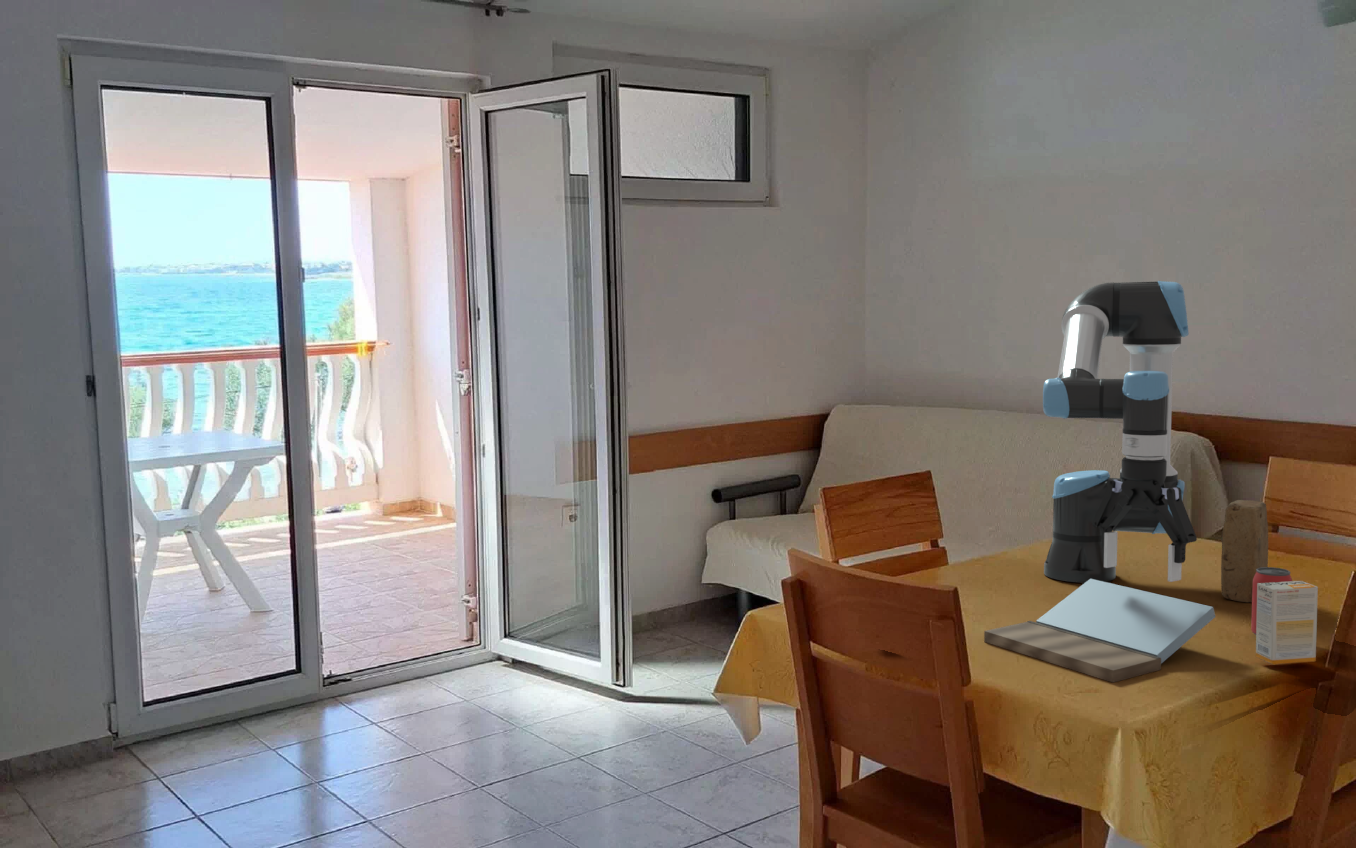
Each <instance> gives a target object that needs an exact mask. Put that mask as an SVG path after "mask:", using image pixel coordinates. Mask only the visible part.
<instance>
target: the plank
mask: <svg viewBox="0 0 1356 848" xmlns="http://www.w3.org/2000/svg"><path fill="white" fill-rule="evenodd" d="M1215 618H1216V614H1215V609H1214V606H1210V605H1205V604H1201V603H1197V602H1194V601H1190V600H1189V601H1188V600H1185V599H1181V598H1176V597H1171V596H1167V595H1162V594H1158V593H1154V592H1150V591H1146V590H1141V589H1137V588H1133V587H1128V586H1125V585H1124V586H1123V585H1120V584H1119V585H1118V584H1115V583H1111V582H1108V581H1106V582H1103V581H1099V580H1094V579H1089V580H1088V581H1087V582H1085V583H1082V585H1080V586H1079V587H1077V588H1076V589H1075V590H1073V591H1072V592H1071V593H1070V594H1068V595H1067V596H1066V597H1065V598H1064V599H1062V600H1061V601H1059V602H1058V603H1057V604H1056V605H1054V606H1053V607H1052V608H1051V609H1049V610H1048V611H1046V613H1044V614H1043V615H1042V616H1040V617H1039V618H1037V619H1036V621H1035V622H1036V623H1040V624H1043V625H1047V626H1050V627H1054V628H1057V629H1061V630H1064V631H1068V632H1071V633H1075V634H1078V635H1082V636H1085V637H1089V638H1092V639H1096V640H1100V641H1103V642H1107V643H1110V644H1114V645H1117V646H1121V647H1124V648H1128V649H1131V650H1135V651H1138V652H1142V653H1145V654H1149V655H1152V656H1156V657H1159V658H1161V664H1163V663H1164V662H1165V661H1166V660H1168V658H1170V657H1171V656H1172V655H1173V654H1174V653H1175V652H1176V651H1178V650H1179V649H1180V648H1182V646H1183V645H1185V644H1186V643H1187V642H1188V641H1189V640H1191V638H1193V637H1194V636H1195V635H1197V633H1199V632H1200V631H1201V630H1202V629H1203V628H1205V626H1207V625H1208V624H1209V623H1210V622H1211V621H1213V619H1215Z"/></svg>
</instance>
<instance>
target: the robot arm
mask: <svg viewBox="0 0 1356 848" xmlns="http://www.w3.org/2000/svg"><path fill="white" fill-rule="evenodd" d="M1061 332H1062V334H1063V343H1062V346H1061V354H1060V360H1059V366H1058V373H1057V377H1055V378H1048V379H1046V380H1045V381H1044V382H1043V387H1042V388H1043V389H1042V410H1043V413H1044V415H1045V416H1046V417H1049V418H1050V417H1052V418H1062V419H1064V420H1065V419H1113V420H1114V419H1115V420H1122V439H1121V441H1122V443H1121V444H1122V445H1121V447H1122V448H1121V454H1122V455H1124V456H1125V457H1123V458H1121V468H1120V470H1119V477H1115V478H1114V477H1111V474H1110V472H1109V471H1107V470H1103V469H1102V470H1100V469H1099V470H1098V469H1095V470H1094V469H1093V470H1091V469H1090V470H1079V471H1073V472H1068V473H1063V474H1060V475H1058V476H1057V477H1056V478H1055V479H1054V483H1053V494H1052V495H1051V497H1052V499H1053V502H1052V503H1053V509H1052V511H1053V513H1052V516H1053V517H1052V542H1051V544H1050V546H1049V550H1048V552H1047V555H1046V560H1045V561H1044V563H1043V574H1044V576H1046V577H1048V578H1051V579H1052V580H1053V579H1054V580H1057V581H1064V582H1068V583H1082V584H1084V583H1085V582H1087V581H1088V580H1089V579H1094V580H1099V581H1103V582H1111V581H1113V580H1115V579H1116V575H1117V572H1116V571H1117V569H1116V567H1117V566H1118V564H1117V563H1118V532H1129V533H1146V534H1152V535H1155V534H1167V536H1168V538H1169V540H1171V542H1172V543H1169V544H1168V550H1167V551H1168V552H1167V553H1168V555H1167V560H1168V561H1167V582H1170V583H1172V582H1177V581H1182V564H1183V563H1185V561H1186V550H1187V549H1186V548H1187V547H1186V546H1187V545H1188V544H1191V543H1194V542H1197V539H1198V537H1197V535H1196V532H1195V530H1194V528H1193V525H1192V522H1191V520H1190V517H1189V514H1188V512H1187V510H1186V507H1185V504H1184V502H1183V500H1184V492H1185V487H1186V486H1185V484H1186V483H1185V481H1184V480H1183V479H1178V475H1179V474H1178V473H1179V472H1178V470H1176V469H1175V467H1173V466H1172V464H1171V451H1172V450H1171V445H1172V444H1171V443H1172V442H1171V441H1172V409H1173V407H1172V405H1173V404H1172V403H1173V369H1174V367H1173V365H1174V353H1175V351H1176V350H1177V349H1178V348H1179V347H1181V346H1182V338H1185V337H1188V336H1189V333H1190V332H1189V324H1188V313H1187V306H1186V298H1185V291H1184V287H1183V285H1182V284H1181V283H1179V282H1176V281H1163V280H1162V281H1161V280H1156V281H1134V282H1133V281H1129V282H1125V281H1124V282H1113V281H1112V282H1104V283H1099V284H1096V285H1094V286H1092V287H1089V288H1088V289H1086V290H1084V291H1083V292H1081V293H1080V294H1078V295H1077V296H1076V297H1074V299H1073V300H1072V301H1071V302H1070V303H1069V304H1068V306H1067V307H1066V309H1065V310H1064V312H1063V315H1062V318H1061ZM1105 337H1117V338H1118V337H1119V338H1120V337H1122V346H1123V347H1124V348H1125V349H1126V351H1128V352H1129V371H1128V372H1126V373H1125V374H1124V377H1123V378H1099V371H1100V364H1101V355H1102V348H1103V347H1102V345H1103V340H1104V339H1105Z"/></svg>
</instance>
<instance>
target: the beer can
mask: <svg viewBox="0 0 1356 848" xmlns="http://www.w3.org/2000/svg"><path fill="white" fill-rule="evenodd" d="M1256 571H1257V572H1256V574H1255V576H1254V578H1253V590H1252V602H1251V623H1250V624H1251V626H1250V627H1251V629H1250V630H1251V633H1253V634H1254V635H1255V636H1256V621H1257V583H1270V582H1288V581H1293V579H1292V576H1291V571H1290V570H1288V569H1286V568H1280V567H1272V566H1271V567H1270V566H1269V567H1261V568H1258V569H1256Z"/></svg>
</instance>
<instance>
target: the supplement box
mask: <svg viewBox="0 0 1356 848" xmlns="http://www.w3.org/2000/svg"><path fill="white" fill-rule="evenodd" d="M1318 589H1319V587H1318V586H1317V585H1314V584H1312V583H1308V582H1307V581H1306V582H1305V581H1303V580H1292V581H1288V582H1270V583H1257V621H1256V635H1255V639H1256V640H1255V657H1256V658H1258V659H1260V660H1262V661H1263V662H1266V663H1268V664H1270V665H1278V664H1279V665H1281V664H1292V663H1293V664H1294V663H1297V664H1298V663H1308V662H1311V663H1312V662H1316V661H1317V660H1316V659H1317V657H1316V656H1317V634H1318V632H1317V631H1318V630H1317V628H1318V627H1317V625H1318V623H1317V622H1318V597H1319V596H1318V593H1319V592H1318Z"/></svg>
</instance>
